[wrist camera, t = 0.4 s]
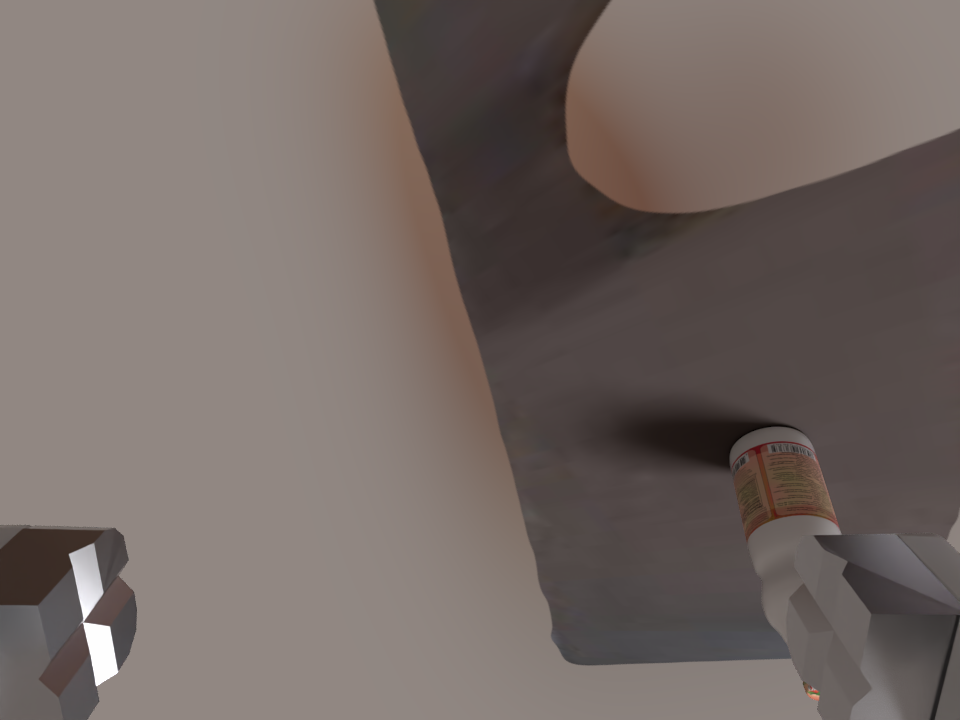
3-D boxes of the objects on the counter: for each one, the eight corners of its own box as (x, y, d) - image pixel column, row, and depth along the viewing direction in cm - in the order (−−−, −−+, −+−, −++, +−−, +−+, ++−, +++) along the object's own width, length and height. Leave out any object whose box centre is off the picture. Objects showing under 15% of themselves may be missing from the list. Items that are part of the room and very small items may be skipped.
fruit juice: (798, 414, 85) (876, 663, 66) (821, 459, 91) (900, 702, 71) (715, 439, 89) (766, 682, 70) (743, 482, 95) (797, 718, 75)
